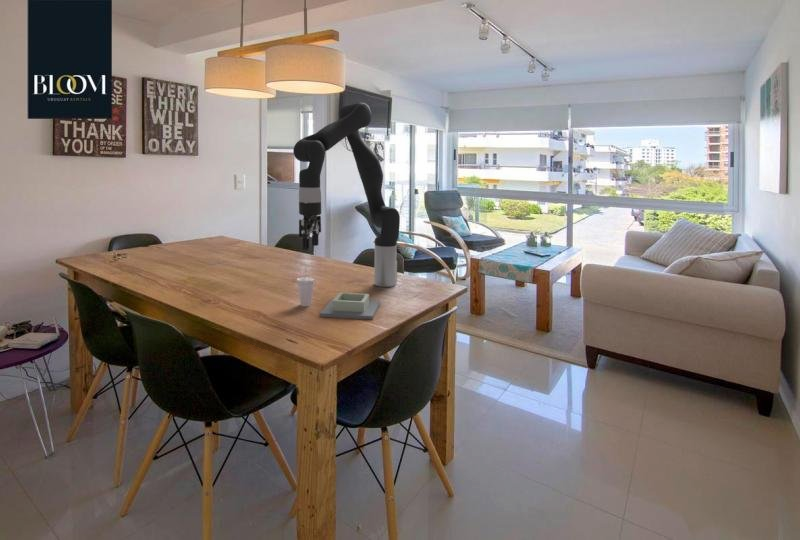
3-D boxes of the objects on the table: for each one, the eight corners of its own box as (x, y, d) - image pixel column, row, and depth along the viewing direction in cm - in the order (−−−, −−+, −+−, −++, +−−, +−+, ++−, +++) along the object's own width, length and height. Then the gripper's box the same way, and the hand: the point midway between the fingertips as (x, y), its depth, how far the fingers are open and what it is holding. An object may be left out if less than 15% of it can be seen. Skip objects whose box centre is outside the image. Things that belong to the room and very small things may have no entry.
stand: (332, 301, 181) (332, 289, 180) (380, 304, 179) (380, 291, 178) (319, 316, 163) (319, 303, 162) (372, 319, 162) (372, 306, 160)
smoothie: (316, 302, 179) (315, 265, 176) (313, 307, 173) (312, 269, 170) (298, 302, 179) (297, 265, 176) (295, 307, 173) (294, 269, 170)
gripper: (307, 198, 173) (308, 243, 176) (291, 201, 159) (292, 250, 163) (327, 199, 171) (327, 244, 175) (312, 202, 158) (313, 251, 161)
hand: (310, 247), depth 169 cm, fingers open, 8 cm apart
